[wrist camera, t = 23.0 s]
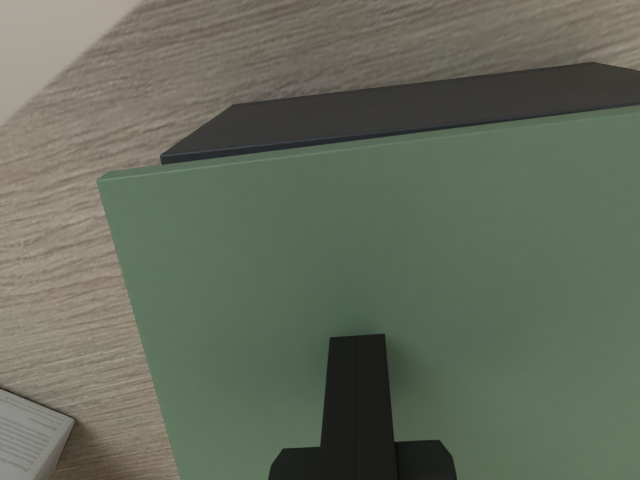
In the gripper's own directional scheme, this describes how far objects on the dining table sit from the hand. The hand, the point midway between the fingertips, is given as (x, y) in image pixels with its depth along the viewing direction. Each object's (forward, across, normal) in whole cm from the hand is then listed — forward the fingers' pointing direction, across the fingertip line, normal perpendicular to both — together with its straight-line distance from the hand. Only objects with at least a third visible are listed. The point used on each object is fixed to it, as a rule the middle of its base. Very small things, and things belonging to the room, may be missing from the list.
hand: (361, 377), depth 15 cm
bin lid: (+1, +2, 0) cm, 3 cm away
